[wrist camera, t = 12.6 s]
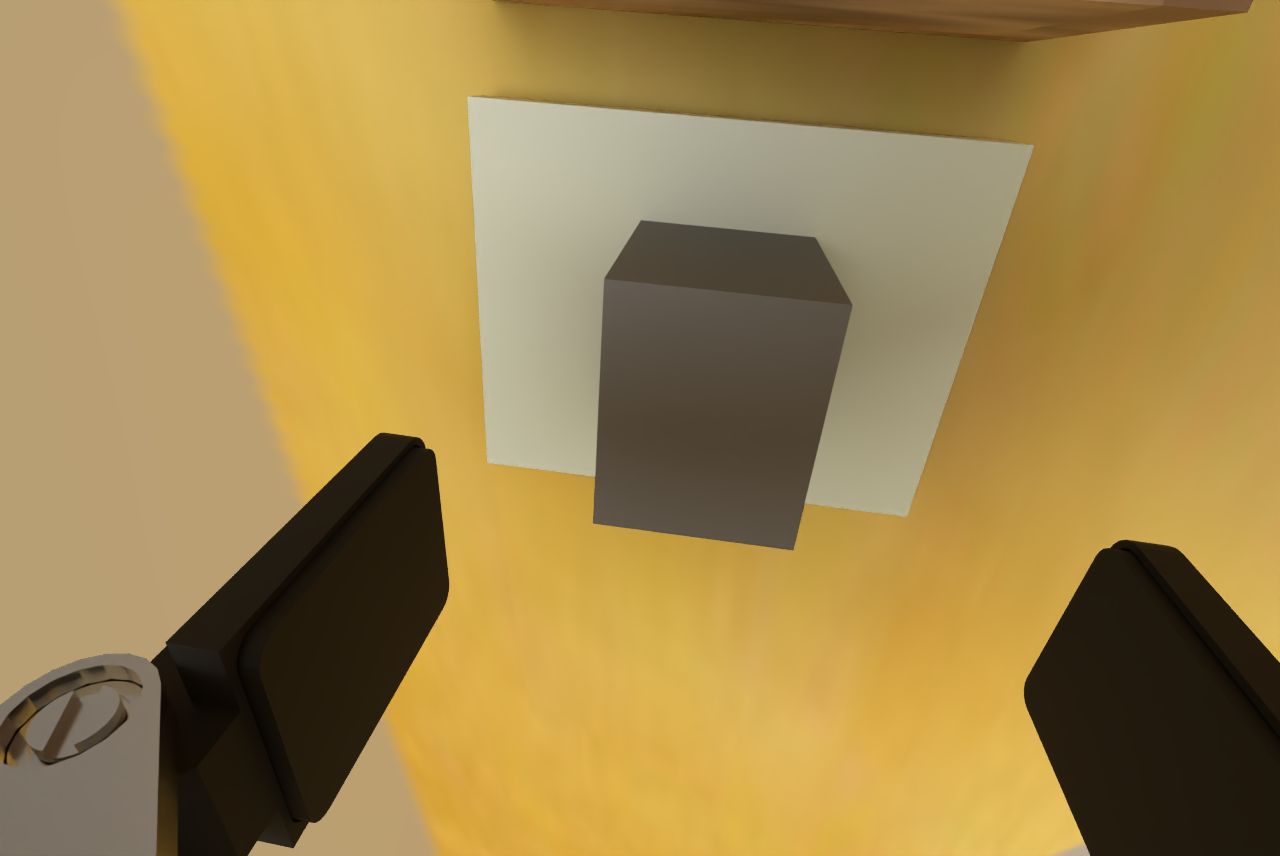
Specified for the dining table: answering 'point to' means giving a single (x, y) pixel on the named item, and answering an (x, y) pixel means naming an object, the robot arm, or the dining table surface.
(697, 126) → the lid
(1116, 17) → the wooden box
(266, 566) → the robot arm
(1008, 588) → the dining table surface
